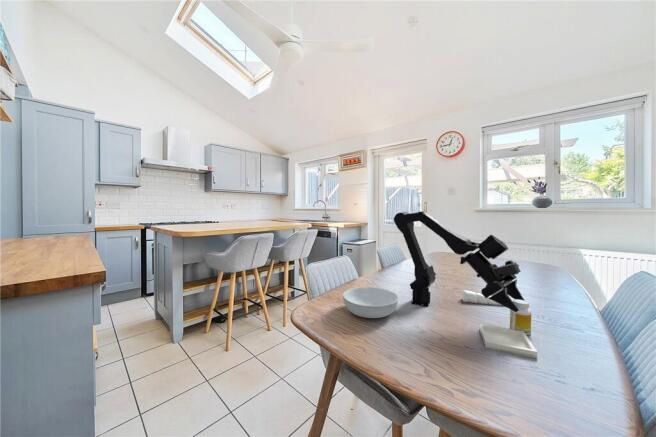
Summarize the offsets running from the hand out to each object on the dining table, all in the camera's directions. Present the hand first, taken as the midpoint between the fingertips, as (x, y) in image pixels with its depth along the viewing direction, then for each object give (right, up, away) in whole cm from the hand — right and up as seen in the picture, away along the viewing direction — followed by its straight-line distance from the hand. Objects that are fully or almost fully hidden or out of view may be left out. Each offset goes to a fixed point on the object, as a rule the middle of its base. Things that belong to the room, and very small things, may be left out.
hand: (521, 307), depth 79 cm
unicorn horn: (+6, -7, +23) cm, 25 cm away
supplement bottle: (0, -8, 0) cm, 8 cm away
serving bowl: (-46, -8, +15) cm, 49 cm away
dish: (-10, -8, -6) cm, 14 cm away
